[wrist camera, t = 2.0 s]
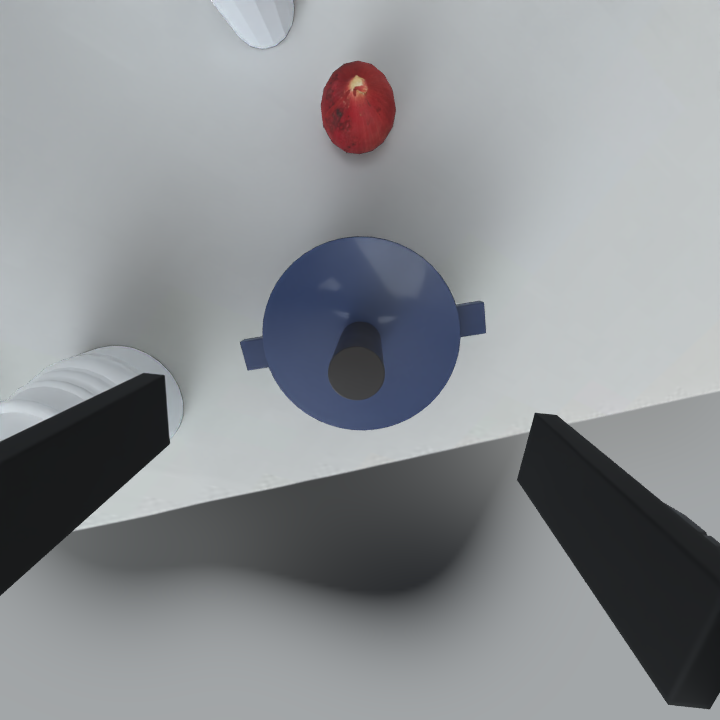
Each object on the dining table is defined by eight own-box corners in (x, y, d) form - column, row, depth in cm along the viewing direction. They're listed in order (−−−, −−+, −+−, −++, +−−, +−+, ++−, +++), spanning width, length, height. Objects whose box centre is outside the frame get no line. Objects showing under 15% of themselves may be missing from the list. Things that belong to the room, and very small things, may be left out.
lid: (245, 257, 24) (180, 254, 16) (446, 220, 23) (489, 196, 15) (290, 434, 28) (257, 506, 20) (464, 410, 27) (505, 476, 19)
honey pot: (205, 420, 39) (73, 547, 21) (122, 466, 41) (-60, 615, 24) (133, 324, 36) (-88, 382, 18) (47, 379, 38) (-223, 477, 21)
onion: (350, 178, 31) (343, 151, 23) (314, 119, 30) (295, 69, 22) (404, 138, 30) (415, 96, 22) (369, 75, 29) (368, 7, 21)
